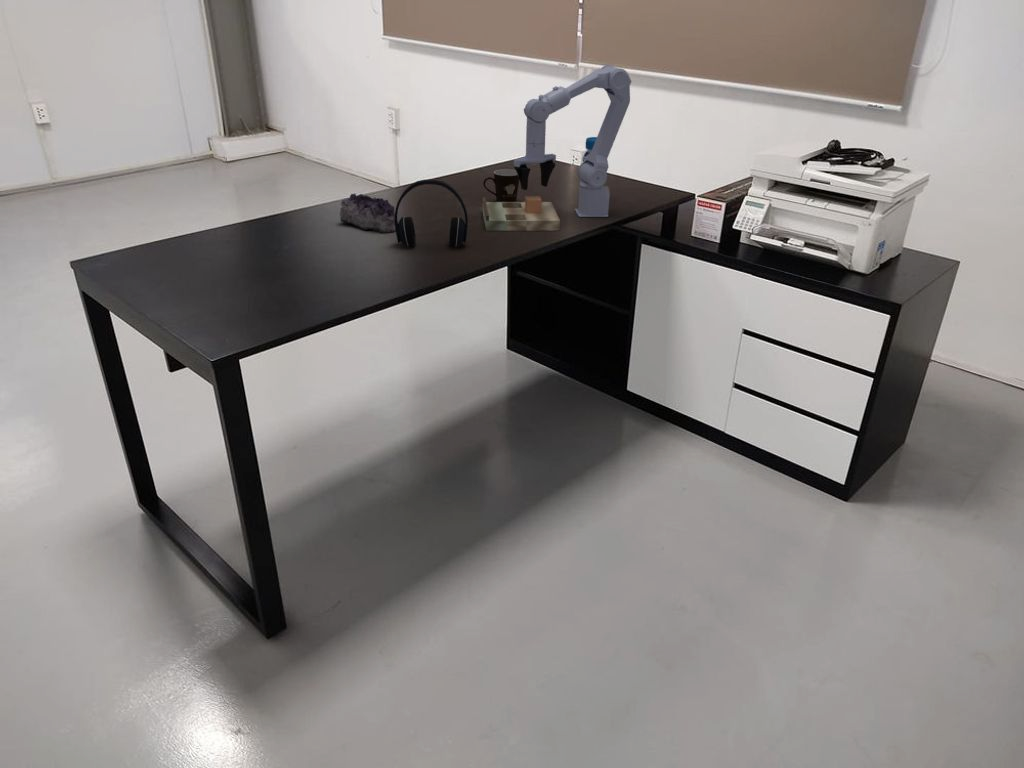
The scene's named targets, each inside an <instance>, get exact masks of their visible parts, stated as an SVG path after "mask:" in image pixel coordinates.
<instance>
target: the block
mask: <svg viewBox="0 0 1024 768" xmlns="http://www.w3.org/2000/svg"><path fill="white" fill-rule="evenodd" d="M524 197H525V199H524V200H525V201H524V202H525V210H526V213H541V205H542V202H543V201H542V198H541V196H540V195H531V196H530V195H527V196H526V195H525V196H524Z"/></svg>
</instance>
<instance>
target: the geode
mask: <svg viewBox="0 0 1024 768" xmlns="http://www.w3.org/2000/svg"><path fill="white" fill-rule="evenodd" d="M340 203H341V204H340V205H341V207H340V211H339V216H340V222H342V223H346V224H349V225H351V224H352V225H353V226H355V227H357V228H359V229H361V230H364V231H365V230H366V231H367V230H369V231H370V230H371V231H372V230H375V231H378V232H380V233H382V234H393V233H396V230H395V206H394V205H392V204H391V203H390V202H389V199H383V198H381V197H380V198H379V197H378V198H376V197H373V198H372V197H370V196H368V195H364V194H362V193H360V194H358V195H357V194H356V193H351V194H350V196H349V198H344V199H343V200H341V202H340Z"/></svg>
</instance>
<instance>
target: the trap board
mask: <svg viewBox="0 0 1024 768" xmlns="http://www.w3.org/2000/svg"><path fill="white" fill-rule="evenodd" d="M482 216H483V222H484V225H485V226H484V227H485V231H486V232H488V231H489V232H495V231H496V232H498V231H499V232H500V231H501V232H503V231H505V232H506V231H507V232H508V231H509V232H511V231H512V232H513V231H514V232H516V231H518V232H519V231H521V232H522V231H523V232H524V231H525V232H526V231H529V232H530V231H536V232H537V231H538V232H539V231H542V232H543V231H544V232H545V231H547V232H548V231H550V232H551V231H553V232H554V231H560V228H561V219H560V217H559V215H558V213H557V211H556V209H555V207H554V205H553V203H552V202H551V201H542V205H541V213H526V210H525V201H516V202H497V201H487V200H486V197H482Z"/></svg>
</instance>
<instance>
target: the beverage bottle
mask: <svg viewBox="0 0 1024 768" xmlns="http://www.w3.org/2000/svg"><path fill="white" fill-rule="evenodd" d="M596 139H597V136H590V137H586V139H585V150H586V151H585V153H584V154H583V156H582V160H581V161H582V162H583V161H584V160H585V157H586V156H587V155H588V154H589V153H591V151H592V149H593V146H594V144H595V141H596ZM603 186H606V183H605V184H604V185H603Z"/></svg>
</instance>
